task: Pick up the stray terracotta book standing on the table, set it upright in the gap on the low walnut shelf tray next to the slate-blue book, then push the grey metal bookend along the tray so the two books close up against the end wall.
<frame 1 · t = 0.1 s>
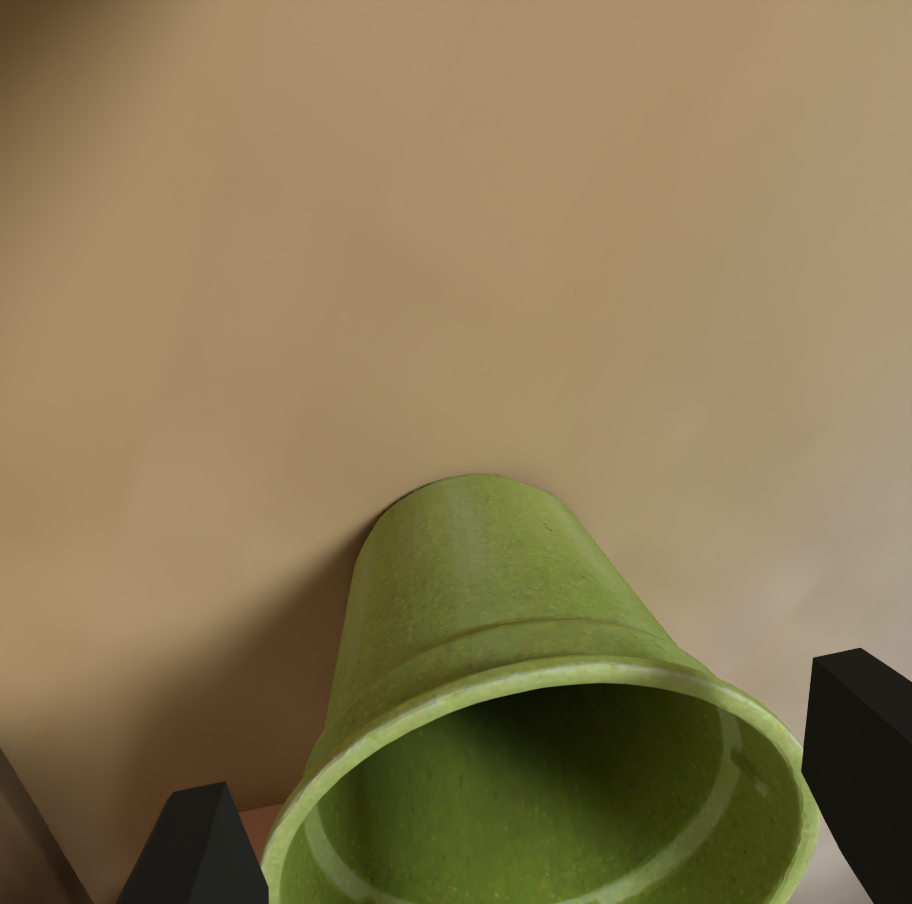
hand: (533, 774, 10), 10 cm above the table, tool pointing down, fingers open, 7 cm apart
plant pot: (467, 568, 21), on the table
terracotta book: (278, 880, 26), on the table
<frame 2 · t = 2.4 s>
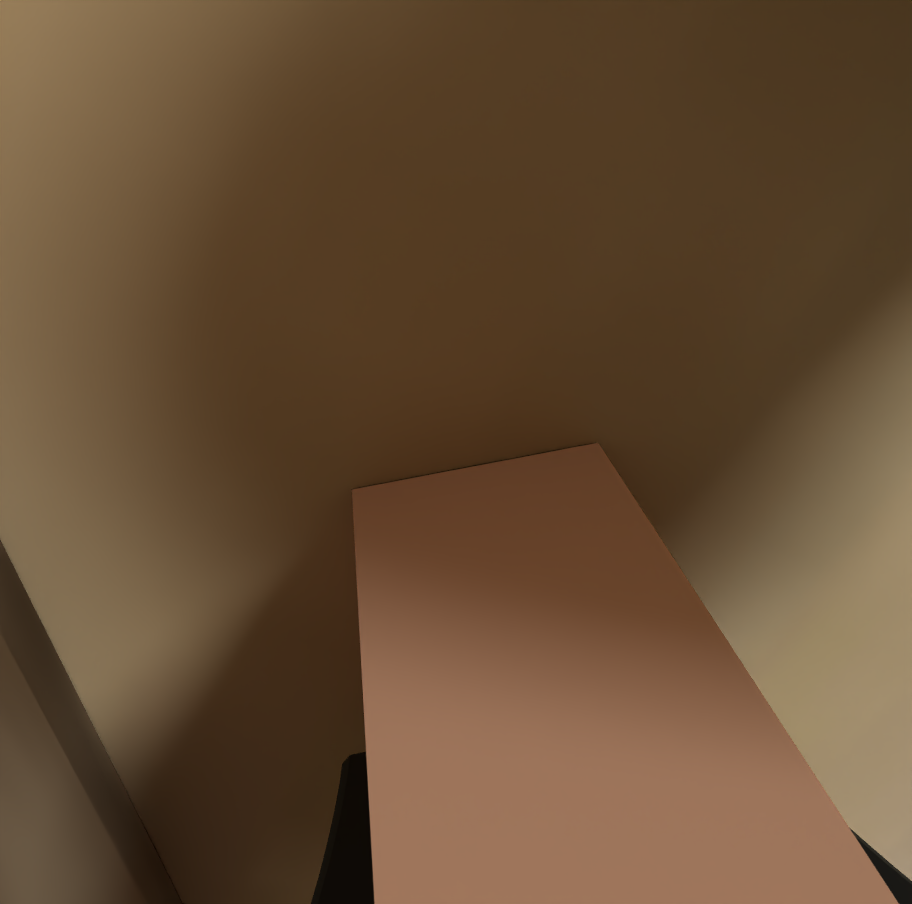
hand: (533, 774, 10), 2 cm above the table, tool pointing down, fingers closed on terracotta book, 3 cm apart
terracotta book: (506, 680, 11), on the table, touching gripper
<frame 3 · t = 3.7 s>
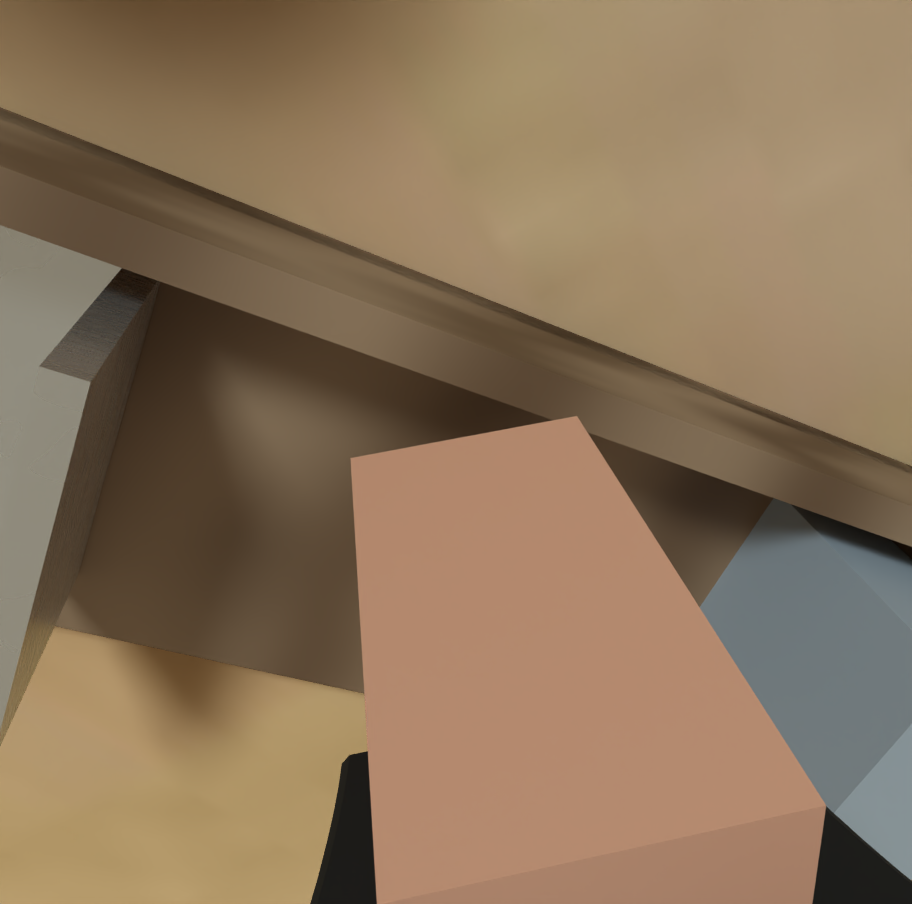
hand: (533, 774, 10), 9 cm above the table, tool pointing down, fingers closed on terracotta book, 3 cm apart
slate book: (748, 620, 20), point 1 cm above the table, touching shelf
shelf: (406, 502, 18), on the table
terracotta book: (493, 639, 12), point 6 cm above the table, touching gripper
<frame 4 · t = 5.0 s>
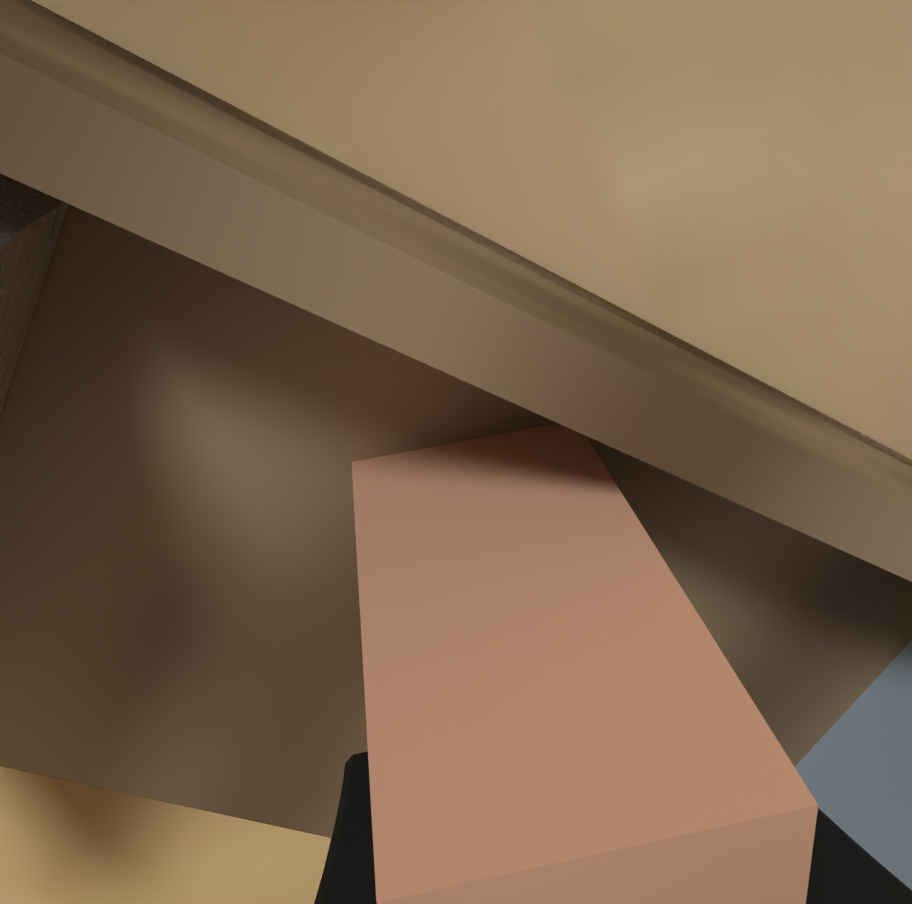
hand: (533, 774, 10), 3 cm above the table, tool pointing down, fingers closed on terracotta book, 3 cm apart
slate book: (877, 759, 15), point 1 cm above the table, touching shelf
shelf: (429, 579, 13), on the table
terracotta book: (494, 641, 12), point 1 cm above the table, touching gripper, shelf
when the fingers open (3 cm above the table, at t = 5.2 s): terracotta book stays where it is, resting on shelf.
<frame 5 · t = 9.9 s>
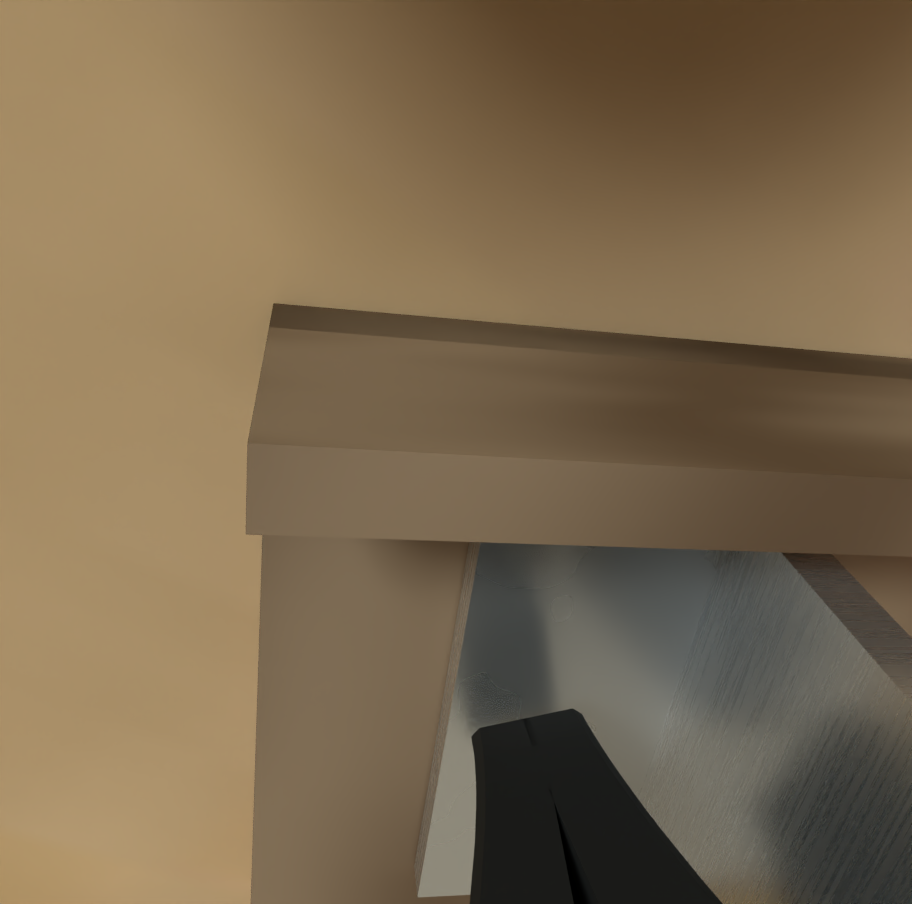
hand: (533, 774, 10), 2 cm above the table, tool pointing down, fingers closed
bookend: (629, 859, 9), point 3 cm above the table, slide at 0.3 cm, touching gripper
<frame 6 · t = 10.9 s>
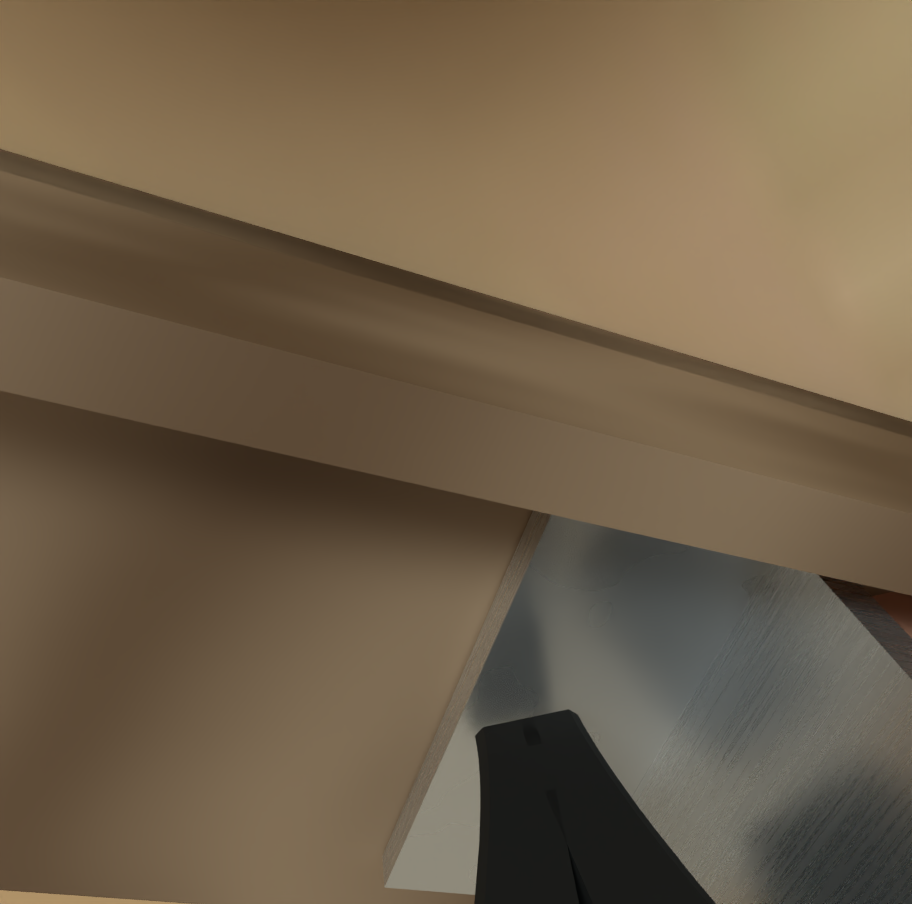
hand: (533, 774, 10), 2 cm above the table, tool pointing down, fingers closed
shelf: (665, 680, 13), on the table
terracotta book: (829, 770, 13), point 1 cm above the table
bookend: (636, 868, 9), point 3 cm above the table, slide at 6.2 cm, touching gripper
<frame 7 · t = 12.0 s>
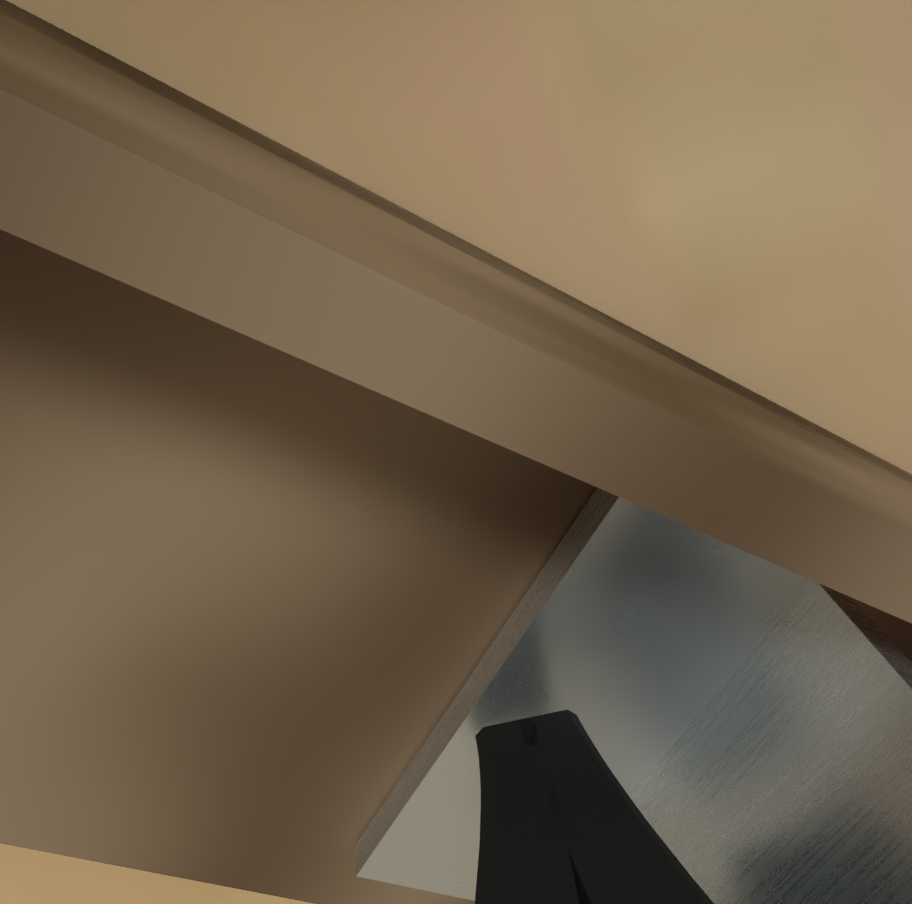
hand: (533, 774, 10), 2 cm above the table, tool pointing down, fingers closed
shelf: (432, 629, 11), on the table
bookend: (636, 877, 9), point 3 cm above the table, slide at 10.2 cm, touching gripper, terracotta book
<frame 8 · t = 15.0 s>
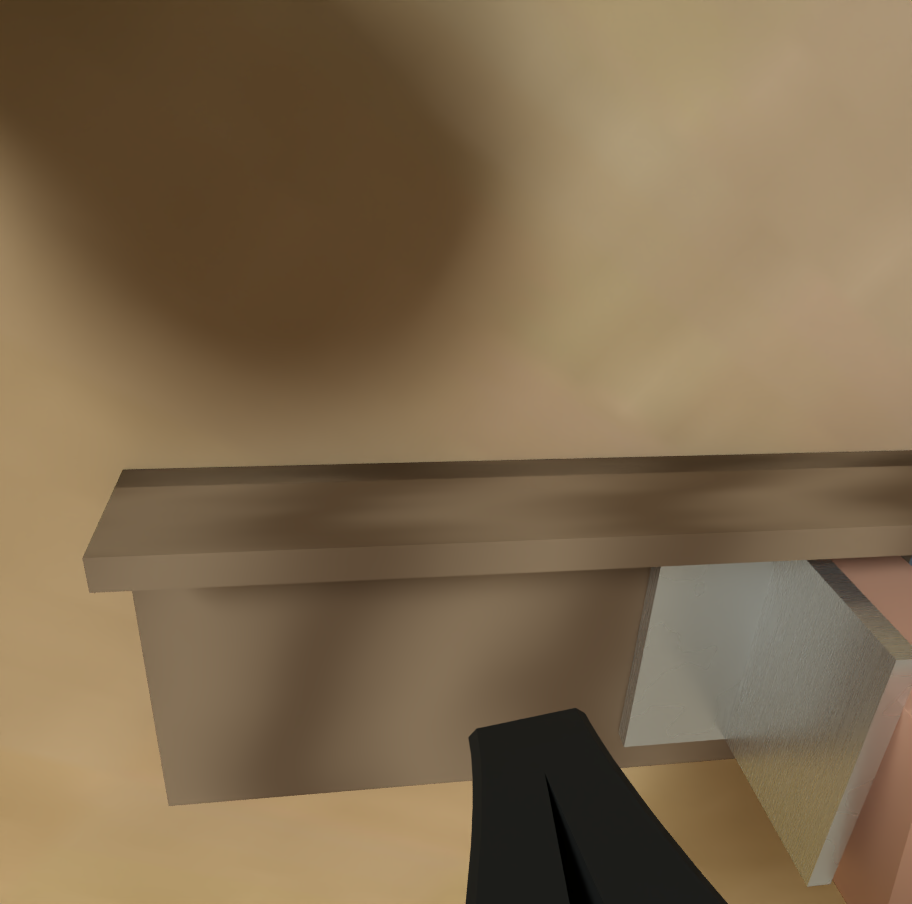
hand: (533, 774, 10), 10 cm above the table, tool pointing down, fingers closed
shelf: (609, 618, 22), on the table
terracotta book: (818, 655, 23), point 1 cm above the table, touching bookend, shelf, slate book
bookend: (743, 702, 19), point 3 cm above the table, slide at 10.3 cm, touching terracotta book
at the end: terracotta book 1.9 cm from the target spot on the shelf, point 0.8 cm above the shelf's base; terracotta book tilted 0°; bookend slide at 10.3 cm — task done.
